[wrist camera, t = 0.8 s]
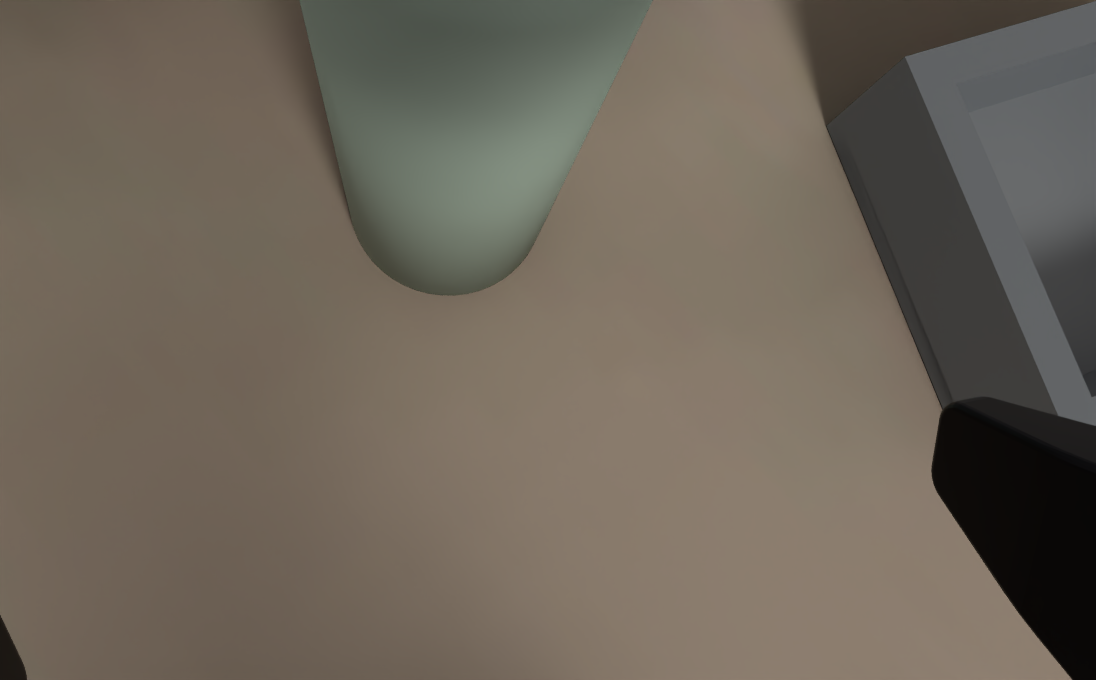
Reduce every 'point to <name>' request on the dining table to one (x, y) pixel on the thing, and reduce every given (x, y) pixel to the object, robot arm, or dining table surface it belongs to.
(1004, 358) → the gray square tray
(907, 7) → the dining table surface
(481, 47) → the sage peg
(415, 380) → the dining table surface
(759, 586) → the dining table surface
